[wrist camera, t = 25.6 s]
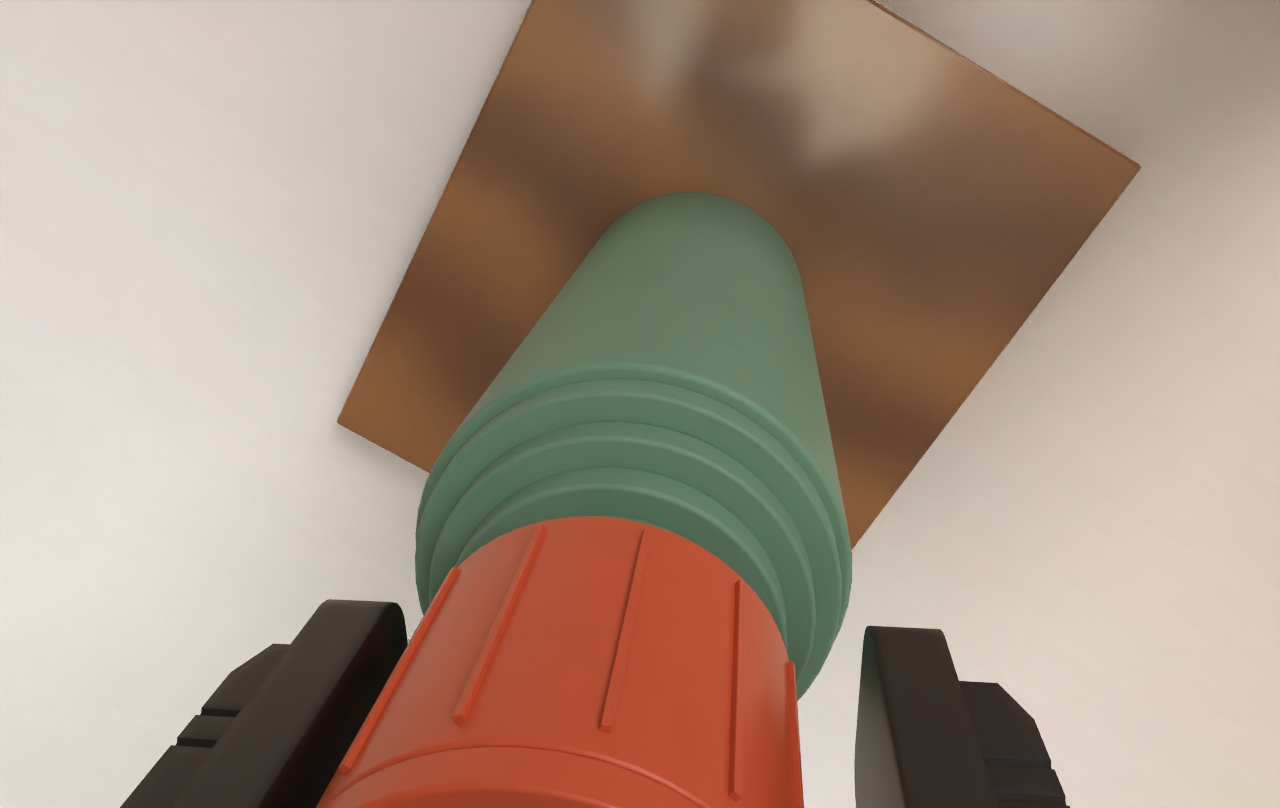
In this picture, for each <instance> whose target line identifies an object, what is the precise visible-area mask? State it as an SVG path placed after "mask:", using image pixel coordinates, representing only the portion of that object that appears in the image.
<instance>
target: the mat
mask: <svg viewBox="0 0 1280 808" xmlns="http://www.w3.org/2000/svg"><path fill="white" fill-rule="evenodd" d="M1140 168H1141V166H1140V165H1139V164H1138V163H1136V162H1134V161H1133V160H1131V159H1130V158H1128V157H1126V156H1125V155H1123V154H1121V153H1120V152H1118V151H1117V150H1115V149H1113V148H1112V147H1110V146H1108V145H1107V144H1105V143H1104V142H1102V141H1100V140H1099V139H1097V138H1095V137H1094V136H1092V135H1091V134H1089V133H1087V132H1086V131H1084V130H1082V129H1081V128H1079V127H1078V126H1076V125H1074V124H1073V123H1071V122H1069V121H1068V120H1066V119H1065V118H1063V117H1061V116H1060V115H1058V114H1056V113H1055V112H1053V111H1052V110H1050V109H1048V108H1047V107H1045V106H1043V105H1042V104H1040V103H1039V102H1037V101H1035V100H1034V99H1032V98H1030V97H1029V96H1027V95H1026V94H1024V93H1022V92H1021V91H1019V90H1017V89H1016V88H1014V87H1013V86H1011V85H1009V84H1008V83H1006V82H1004V81H1003V80H1001V79H1000V78H998V77H996V76H995V75H993V74H991V73H990V72H988V71H987V70H985V69H983V68H982V67H980V66H978V65H977V64H975V63H974V62H972V61H970V60H969V59H967V58H965V57H964V56H962V55H961V54H959V53H957V52H956V51H954V50H952V49H951V48H949V47H948V46H946V45H944V44H943V43H941V42H939V41H938V40H936V39H935V38H933V37H931V36H930V35H928V34H926V33H925V32H923V31H922V30H920V29H918V28H917V27H915V26H913V25H912V24H910V23H909V22H907V21H905V20H904V19H902V18H900V17H899V16H897V15H896V14H894V13H892V12H891V11H889V10H887V9H886V8H884V7H883V6H881V5H879V4H878V3H876V2H874V1H873V0H532V2H531V4H530V6H529V8H528V11H527V13H526V15H525V17H524V19H523V21H522V23H521V26H520V28H519V30H518V32H517V34H516V36H515V38H514V41H513V43H512V45H511V47H510V49H509V51H508V54H507V56H506V58H505V60H504V62H503V64H502V66H501V69H500V71H499V73H498V75H497V77H496V79H495V82H494V84H493V86H492V88H491V90H490V92H489V94H488V97H487V99H486V101H485V103H484V105H483V107H482V110H481V112H480V114H479V116H478V118H477V120H476V122H475V125H474V127H473V129H472V131H471V133H470V135H469V138H468V140H467V142H466V144H465V146H464V148H463V150H462V153H461V155H460V157H459V159H458V161H457V163H456V165H455V168H454V170H453V172H452V174H451V176H450V178H449V181H448V183H447V185H446V187H445V189H444V191H443V193H442V196H441V198H440V200H439V202H438V204H437V206H436V209H435V211H434V213H433V215H432V217H431V219H430V221H429V224H428V226H427V228H426V230H425V232H424V234H423V237H422V239H421V241H420V243H419V245H418V247H417V249H416V252H415V254H414V256H413V258H412V260H411V262H410V264H409V267H408V269H407V271H406V273H405V275H404V277H403V280H402V282H401V284H400V286H399V288H398V290H397V292H396V295H395V297H394V299H393V301H392V303H391V305H390V308H389V310H388V312H387V314H386V316H385V318H384V320H383V323H382V325H381V327H380V329H379V331H378V333H377V336H376V338H375V340H374V342H373V344H372V346H371V348H370V351H369V353H368V355H367V357H366V359H365V361H364V364H363V366H362V368H361V370H360V372H359V374H358V376H357V379H356V381H355V383H354V385H353V387H352V389H351V391H350V394H349V396H348V398H347V400H346V402H345V404H344V407H343V409H342V411H341V413H340V415H339V417H338V419H337V423H338V424H340V425H342V426H344V427H345V428H347V429H349V430H351V431H353V432H355V433H357V434H358V435H360V436H362V437H364V438H366V439H368V440H369V441H371V442H373V443H375V444H377V445H379V446H381V447H382V448H384V449H386V450H388V451H390V452H392V453H393V454H395V455H397V456H399V457H401V458H403V459H405V460H406V461H408V462H410V463H412V464H414V465H416V466H417V467H419V468H421V469H423V470H425V471H427V472H429V473H430V472H431V470H432V468H433V466H434V463H435V461H436V460H437V458H438V457H439V455H440V454H441V452H442V450H443V449H444V447H445V446H446V444H447V442H448V441H449V439H450V438H451V437H452V435H453V434H454V433H455V431H456V430H457V429H458V427H459V426H460V425H461V423H462V422H463V421H464V419H465V418H466V417H467V415H468V414H469V413H470V411H471V410H472V409H473V407H474V406H475V405H476V403H477V402H478V401H479V399H480V398H481V397H482V395H483V394H484V393H485V391H486V390H487V389H488V387H489V386H490V385H491V383H492V382H493V381H494V379H495V378H496V376H497V375H498V374H499V372H500V371H501V370H502V368H503V367H504V366H505V364H506V363H507V362H508V360H509V359H510V358H511V356H512V355H513V354H514V352H515V351H516V350H517V348H518V347H519V346H520V344H521V343H522V342H523V340H524V339H525V338H526V336H527V335H528V334H529V332H530V331H531V330H532V328H533V327H534V326H535V324H536V323H537V322H538V320H539V319H540V318H541V316H542V315H543V313H544V312H545V311H546V309H547V308H548V307H549V305H550V304H551V303H552V301H553V300H554V299H555V297H556V296H557V295H558V293H559V292H560V291H561V289H562V288H563V287H564V285H565V284H566V283H567V281H568V280H569V279H570V277H571V276H572V275H573V273H574V272H575V271H576V269H577V268H578V267H579V265H580V264H581V263H582V261H583V260H584V259H585V257H586V256H587V255H588V253H589V252H590V250H591V249H592V248H593V246H594V245H595V244H596V242H597V241H598V240H599V238H600V237H601V236H602V235H603V233H604V232H605V231H606V230H607V229H608V228H609V226H610V225H611V224H612V223H614V222H615V221H616V220H617V219H618V218H619V217H620V216H621V215H623V214H624V213H626V212H627V211H629V210H630V209H632V208H633V207H635V206H637V205H639V204H641V203H643V202H645V201H647V200H650V199H653V198H656V197H659V196H662V195H667V194H673V193H681V192H700V193H709V194H714V195H719V196H723V197H726V198H729V199H731V200H734V201H737V202H739V203H741V204H743V205H745V206H747V207H749V208H750V209H752V210H753V211H755V212H756V213H758V214H759V215H760V216H762V217H763V218H764V219H765V220H766V221H767V222H768V223H770V224H771V225H772V226H773V227H774V228H775V230H776V231H777V232H778V233H779V234H780V235H781V237H782V238H783V239H784V241H785V243H786V244H787V246H788V247H789V249H790V250H791V253H792V255H793V257H794V259H795V261H796V263H797V266H798V270H799V273H800V276H801V281H802V286H803V291H804V297H805V302H806V307H807V313H808V318H809V323H810V329H811V334H812V339H813V345H814V350H815V355H816V361H817V366H818V371H819V376H820V382H821V387H822V392H823V398H824V403H825V408H826V414H827V419H828V424H829V430H830V435H831V440H832V445H833V451H834V456H835V461H836V467H837V472H838V477H839V483H840V488H841V493H842V499H843V504H844V509H845V514H846V520H847V525H848V531H849V538H850V544H851V550H852V549H853V548H854V546H855V545H856V544H857V542H858V541H859V540H860V538H861V537H862V536H863V534H864V533H865V532H866V530H867V529H868V528H869V526H870V525H871V524H872V522H873V521H874V520H875V518H876V517H877V516H878V515H879V513H880V512H881V511H882V509H883V508H884V507H885V505H886V504H887V503H888V501H889V500H890V499H891V497H892V496H893V495H894V493H895V492H896V491H897V489H898V488H899V487H900V485H901V484H902V483H903V482H904V480H905V479H906V478H907V476H908V475H909V474H910V472H911V471H912V470H913V468H914V467H915V466H916V464H917V463H918V462H919V460H920V459H921V458H922V456H923V455H924V454H925V452H926V451H927V450H928V449H929V447H930V446H931V445H932V443H933V442H934V441H935V439H936V438H937V437H938V435H939V434H940V433H941V431H942V430H943V429H944V427H945V426H946V425H947V423H948V422H949V421H950V419H951V418H952V417H953V416H954V414H955V413H956V412H957V410H958V409H959V408H960V406H961V405H962V404H963V402H964V401H965V400H966V398H967V397H968V396H969V394H970V393H971V392H972V390H973V389H974V388H975V387H976V385H977V384H978V383H979V381H980V380H981V379H982V377H983V376H984V375H985V373H986V372H987V371H988V369H989V368H990V367H991V365H992V364H993V363H994V361H995V360H996V359H997V357H998V356H999V355H1000V354H1001V352H1002V351H1003V350H1004V348H1005V347H1006V346H1007V344H1008V343H1009V342H1010V340H1011V339H1012V338H1013V336H1014V335H1015V334H1016V332H1017V331H1018V330H1019V328H1020V327H1021V326H1022V324H1023V323H1024V322H1025V321H1026V319H1027V318H1028V317H1029V315H1030V314H1031V313H1032V311H1033V310H1034V309H1035V307H1036V306H1037V305H1038V303H1039V302H1040V301H1041V299H1042V298H1043V297H1044V295H1045V294H1046V293H1047V291H1048V290H1049V289H1050V288H1051V286H1052V285H1053V284H1054V282H1055V281H1056V280H1057V278H1058V277H1059V276H1060V274H1061V273H1062V272H1063V270H1064V269H1065V268H1066V266H1067V265H1068V264H1069V262H1070V261H1071V260H1072V258H1073V257H1074V256H1075V255H1076V253H1077V252H1078V251H1079V249H1080V248H1081V247H1082V245H1083V244H1084V243H1085V241H1086V240H1087V239H1088V237H1089V236H1090V235H1091V233H1092V232H1093V231H1094V229H1095V228H1096V227H1097V225H1098V224H1099V223H1100V222H1101V220H1102V219H1103V218H1104V216H1105V215H1106V214H1107V212H1108V211H1109V210H1110V208H1111V207H1112V206H1113V204H1114V203H1115V202H1116V200H1117V199H1118V198H1119V196H1120V195H1121V194H1122V192H1123V191H1124V190H1125V189H1126V187H1127V186H1128V185H1129V183H1130V182H1131V181H1132V179H1133V178H1134V177H1135V175H1136V174H1137V173H1138V171H1139V170H1140Z"/></svg>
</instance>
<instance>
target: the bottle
mask: <svg viewBox="0 0 1280 808" xmlns="http://www.w3.org/2000/svg"><path fill="white" fill-rule="evenodd" d="M583 516H600V517H610V518H620V519H626V520H631V521H636V522H640V523H645V524H649V525H652V526H655V527H658V528H661V529H664V530H667V531H669V532H672V533H675V534H677V535H679V536H681V537H683V538H685V539H687V540H689V541H691V542H694V543H696V544H697V545H699V546H701V547H702V548H704V549H705V550H707V551H708V552H710V553H712V554H713V555H715V556H716V557H718V558H719V559H720V560H722V561H723V562H724V563H725V564H727V565H728V566H729V567H730V568H731V569H733V570H734V571H735V572H736V573H737V574H739V576H740V577H741V578H742V579H743V580H744V581H745V582H746V583H747V584H748V585H749V586H750V587H751V588H752V589H753V590H754V591H755V593H756V594H757V595H758V597H759V598H760V599H761V601H762V602H763V604H764V605H765V606H766V608H767V609H768V611H769V612H770V614H771V616H772V618H773V620H774V622H775V623H776V625H777V627H778V629H779V631H780V633H781V636H782V639H783V642H784V645H785V648H786V651H787V653H788V659H789V661H793V662H794V666H795V677H796V692H797V701H798V700H799V699H800V698H801V697H802V696H803V694H804V693H805V692H806V691H807V689H808V688H809V686H810V685H811V684H812V682H813V681H814V679H815V678H816V676H817V675H818V673H819V672H820V670H821V668H822V666H823V664H824V662H825V660H826V658H827V656H828V654H829V652H830V650H831V647H832V645H833V643H834V641H835V639H836V637H837V635H838V632H839V630H840V628H841V625H842V622H843V619H844V616H845V613H846V609H847V606H848V602H849V595H850V589H851V582H852V551H851V544H850V538H849V531H848V525H847V520H846V514H845V509H844V504H843V499H842V493H841V488H840V483H839V477H838V472H837V467H836V461H835V456H834V451H833V445H832V440H831V435H830V430H829V424H828V419H827V414H826V408H825V403H824V398H823V392H822V387H821V382H820V376H819V371H818V366H817V361H816V355H815V350H814V345H813V339H812V334H811V329H810V323H809V318H808V313H807V307H806V302H805V297H804V291H803V286H802V281H801V276H800V273H799V270H798V266H797V263H796V261H795V259H794V257H793V255H792V253H791V250H790V249H789V247H788V246H787V244H786V243H785V241H784V239H783V238H782V237H781V235H780V234H779V233H778V232H777V231H776V230H775V228H774V227H773V226H772V225H771V224H770V223H768V222H767V221H766V220H765V219H764V218H763V217H762V216H760V215H759V214H758V213H756V212H755V211H753V210H752V209H750V208H749V207H747V206H745V205H743V204H741V203H739V202H737V201H734V200H731V199H729V198H726V197H723V196H719V195H714V194H709V193H700V192H681V193H673V194H667V195H662V196H659V197H656V198H653V199H650V200H647V201H645V202H643V203H641V204H639V205H637V206H635V207H633V208H632V209H630V210H629V211H627V212H626V213H624V214H623V215H621V216H620V217H619V218H618V219H617V220H616V221H615V222H614V223H612V224H611V225H610V226H609V228H608V229H607V230H606V231H605V232H604V233H603V235H602V236H601V237H600V238H599V240H598V241H597V242H596V244H595V245H594V246H593V248H592V249H591V250H590V252H589V253H588V255H587V256H586V257H585V259H584V260H583V261H582V263H581V264H580V265H579V267H578V268H577V269H576V271H575V272H574V273H573V275H572V276H571V277H570V279H569V280H568V281H567V283H566V284H565V285H564V287H563V288H562V289H561V291H560V292H559V293H558V295H557V296H556V297H555V299H554V300H553V301H552V303H551V304H550V305H549V307H548V308H547V309H546V311H545V312H544V313H543V315H542V316H541V318H540V319H539V320H538V322H537V323H536V324H535V326H534V327H533V328H532V330H531V331H530V332H529V334H528V335H527V336H526V338H525V339H524V340H523V342H522V343H521V344H520V346H519V347H518V348H517V350H516V351H515V352H514V354H513V355H512V356H511V358H510V359H509V360H508V362H507V363H506V364H505V366H504V367H503V368H502V370H501V371H500V372H499V374H498V375H497V376H496V378H495V379H494V381H493V382H492V383H491V385H490V386H489V387H488V389H487V390H486V391H485V393H484V394H483V395H482V397H481V398H480V399H479V401H478V402H477V403H476V405H475V406H474V407H473V409H472V410H471V411H470V413H469V414H468V415H467V417H466V418H465V419H464V421H463V422H462V423H461V425H460V426H459V427H458V429H457V430H456V431H455V433H454V434H453V435H452V437H451V438H450V439H449V441H448V442H447V444H446V446H445V447H444V449H443V450H442V452H441V454H440V455H439V457H438V458H437V460H436V461H435V463H434V466H433V468H432V470H431V472H430V475H429V477H428V479H427V482H426V484H425V487H424V490H423V494H422V498H421V502H420V505H419V509H418V517H417V526H416V553H415V570H416V584H417V590H418V595H419V601H420V606H421V609H422V612H423V615H425V613H426V611H427V610H428V608H429V606H430V604H431V603H432V601H433V599H434V597H435V596H436V594H437V592H438V590H439V589H440V587H441V585H442V583H443V582H444V580H445V578H446V576H447V575H448V573H449V571H450V570H451V569H452V568H453V567H454V566H456V567H458V566H459V565H460V564H461V563H462V562H463V561H464V560H465V559H466V558H468V557H469V556H470V555H471V554H473V553H474V552H475V551H477V550H478V549H479V548H480V547H482V546H484V545H486V544H487V543H489V542H491V541H492V540H494V539H496V538H498V537H499V536H501V535H504V534H506V533H509V532H511V531H514V530H516V529H518V528H521V527H524V526H527V525H531V524H535V523H538V522H542V521H546V520H552V519H559V518H566V517H583Z"/></svg>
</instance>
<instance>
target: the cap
mask: <svg viewBox="0 0 1280 808" xmlns="http://www.w3.org/2000/svg"><path fill="white" fill-rule="evenodd" d="M316 808H804V802H803V787H802V771H801V755H800V739H799V724H798V708H797V692H796V677H795V666H794V662H793V661H789V659H788V653H787V651H786V648H785V645H784V642H783V639H782V636H781V633H780V631H779V629H778V627H777V625H776V623H775V622H774V620H773V618H772V616H771V614H770V612H769V611H768V609H767V608H766V606H765V605H764V604H763V602H762V601H761V599H760V598H759V597H758V595H757V594H756V593H755V591H754V590H753V589H752V588H751V587H750V586H749V585H748V584H747V583H746V582H745V581H744V580H743V579H742V578H741V577H740V576H739V574H737V573H736V572H735V571H734V570H733V569H731V568H730V567H729V566H728V565H727V564H725V563H724V562H723V561H722V560H720V559H719V558H718V557H716V556H715V555H713V554H712V553H710V552H708V551H707V550H705V549H704V548H702V547H701V546H699V545H697V544H696V543H694V542H691V541H689V540H687V539H685V538H683V537H681V536H679V535H677V534H675V533H672V532H669V531H667V530H664V529H661V528H658V527H655V526H652V525H649V524H645V523H640V522H636V521H631V520H626V519H620V518H610V517H600V516H583V517H566V518H559V519H552V520H546V521H542V522H538V523H535V524H531V525H527V526H524V527H521V528H518V529H516V530H514V531H511V532H509V533H506V534H504V535H501V536H499V537H498V538H496V539H494V540H492V541H491V542H489V543H487V544H486V545H484V546H482V547H480V548H479V549H478V550H477V551H475V552H474V553H473V554H471V555H470V556H469V557H468V558H466V559H465V560H464V561H463V562H462V563H461V564H460V565H459V566H458V567H456V566H454V567H453V568H452V569H451V570H450V571H449V573H448V575H447V576H446V578H445V580H444V582H443V583H442V585H441V587H440V589H439V590H438V592H437V594H436V596H435V597H434V599H433V601H432V603H431V604H430V606H429V608H428V610H427V611H426V613H425V615H424V617H423V619H422V620H421V622H420V624H419V626H418V627H417V629H416V631H415V633H414V634H413V636H412V638H411V640H410V642H409V643H408V645H407V647H406V649H405V650H404V652H403V654H402V656H401V657H400V659H399V661H398V663H397V665H396V666H395V668H394V670H393V672H392V673H391V675H390V677H389V679H388V680H387V682H386V684H385V686H384V688H383V689H382V691H381V693H380V695H379V696H378V698H377V700H376V702H375V703H374V705H373V707H372V709H371V711H370V712H369V714H368V716H367V718H366V719H365V721H364V723H363V725H362V727H361V728H360V730H359V732H358V734H357V735H356V737H355V739H354V741H353V742H352V744H351V746H350V748H349V750H348V751H347V753H346V755H345V757H344V758H343V760H342V762H341V764H340V765H339V767H338V769H337V771H336V773H335V774H334V776H333V778H332V780H331V781H330V783H329V785H328V787H327V788H326V790H325V792H324V794H323V796H322V797H321V799H320V801H319V803H318V804H317V806H316Z"/></svg>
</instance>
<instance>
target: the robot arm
mask: <svg viewBox="0 0 1280 808" xmlns="http://www.w3.org/2000/svg"><path fill="white" fill-rule="evenodd" d="M407 645H408V642H407V634H406V626H405V619H404V615H403V612H402V610H401V607H400V606H399V605H398V604H397V603H394V602H374V601H353V600H332V599H329V600H326V601H325V602H323V603H322V604H321V605H320V606H319V608H318V609H317V610H316V612H315V613H314V614H313V616H312V617H311V618H310V619H309V621H308V622H307V623H306V625H305V626H304V627H303V629H302V630H301V631H300V633H299V634H298V635H297V637H296V638H295V639H294V641H293V642H292V643H291V645H287V644H272V645H271V646H269V647H268V648H266V649H265V650H263V651H262V652H260V653H259V654H257V655H256V656H254V657H253V658H251V659H250V660H249V661H247V662H246V663H244V664H243V665H241V666H240V667H238V668H237V669H235V670H234V671H232V672H231V673H230V674H229V675H228V676H227V677H226V679H225V680H224V681H223V682H222V684H221V685H220V686H219V687H218V688H217V690H216V691H215V692H214V693H213V695H212V696H211V697H210V698H209V699H208V701H207V702H206V703H205V704H204V706H203V707H202V711H201V715H195V717H194V718H193V719H192V720H191V721H190V723H189V724H188V725H187V726H186V728H185V729H184V730H183V731H182V732H181V734H180V735H179V736H178V737H177V744H176V746H173V745H171V746H170V747H169V748H168V750H167V751H166V752H165V753H164V754H163V756H162V757H161V758H160V759H159V761H158V762H157V763H156V764H155V765H154V767H153V768H152V769H151V770H150V772H149V773H148V774H147V775H146V776H145V778H144V779H143V780H142V781H141V783H140V784H139V785H138V786H137V788H136V789H135V790H134V791H133V792H132V794H131V795H130V796H129V797H128V799H127V800H126V801H125V802H124V803H123V805H122V806H121V807H120V808H316V806H317V804H318V803H319V801H320V799H321V797H322V796H323V794H324V792H325V790H326V788H327V787H328V785H329V783H330V781H331V780H332V778H333V776H334V774H335V773H336V771H337V769H338V767H339V765H340V764H341V762H342V760H343V758H344V757H345V755H346V753H347V751H348V750H349V748H350V746H351V744H352V742H353V741H354V739H355V737H356V735H357V734H358V732H359V730H360V728H361V727H362V725H363V723H364V721H365V719H366V718H367V716H368V714H369V712H370V711H371V709H372V707H373V705H374V703H375V702H376V700H377V698H378V696H379V695H380V693H381V691H382V689H383V688H384V686H385V684H386V682H387V680H388V679H389V677H390V675H391V673H392V672H393V670H394V668H395V666H396V665H397V663H398V661H399V659H400V657H401V656H402V654H403V652H404V650H405V649H406V647H407ZM855 798H856V808H1070V806H1066V802H1065V794H1064V792H1063V789H1062V787H1061V784H1060V782H1059V779H1058V777H1057V775H1056V772H1055V770H1053V769H1051V760H1050V757H1049V755H1048V753H1047V750H1046V748H1045V745H1044V743H1043V740H1042V738H1041V735H1040V733H1039V730H1038V728H1037V726H1036V723H1035V721H1034V719H1033V718H1032V717H1031V716H1030V715H1029V714H1028V713H1027V712H1026V711H1025V710H1024V709H1023V708H1022V707H1021V706H1020V705H1019V704H1018V703H1017V702H1016V701H1015V700H1014V699H1013V698H1012V697H1011V696H1010V695H1009V694H1008V693H1007V692H1006V691H1005V690H1004V689H1003V688H1002V687H1001V686H1000V685H999V684H998V683H985V682H966V681H959V680H958V677H957V674H956V671H955V668H954V664H953V661H952V658H951V655H950V652H949V649H948V645H947V642H946V639H945V636H944V634H943V632H942V631H941V630H940V629H923V628H902V627H881V626H867V627H866V630H865V635H864V641H863V653H862V666H861V679H860V691H859V704H858V717H857V730H856V743H855Z"/></svg>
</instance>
